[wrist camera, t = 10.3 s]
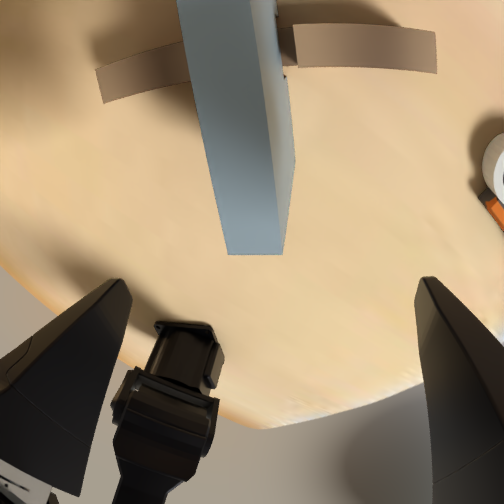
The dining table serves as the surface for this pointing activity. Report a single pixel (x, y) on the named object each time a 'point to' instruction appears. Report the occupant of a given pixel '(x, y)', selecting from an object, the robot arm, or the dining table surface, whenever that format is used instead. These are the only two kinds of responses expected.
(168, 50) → the base plate
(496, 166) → the electronic device
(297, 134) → the dining table surface
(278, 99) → the slotted plate
